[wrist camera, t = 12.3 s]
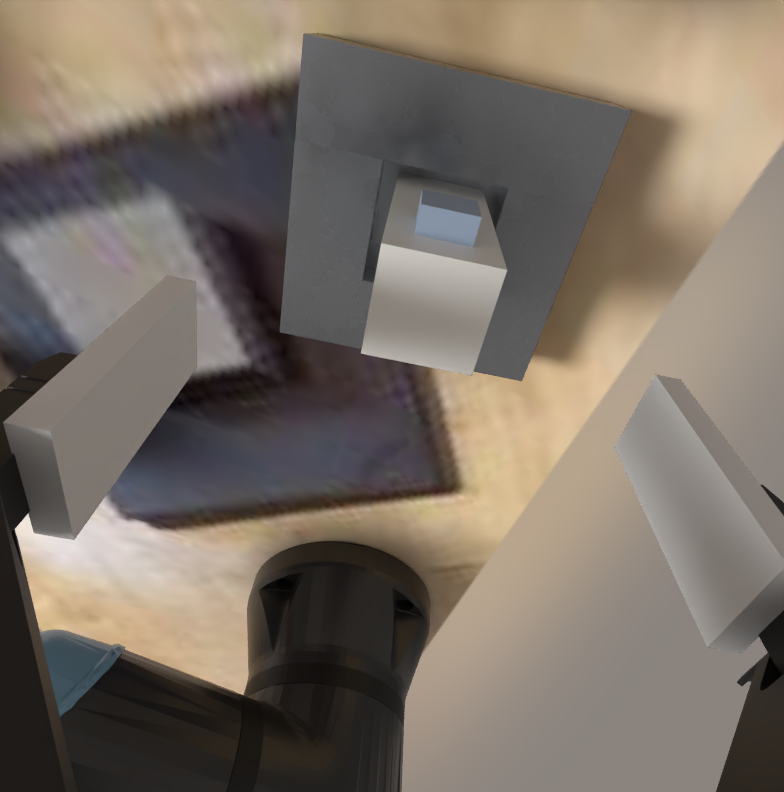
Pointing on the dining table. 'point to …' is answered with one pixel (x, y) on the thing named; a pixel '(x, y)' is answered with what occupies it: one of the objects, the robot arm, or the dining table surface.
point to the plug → (434, 277)
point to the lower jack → (439, 160)
